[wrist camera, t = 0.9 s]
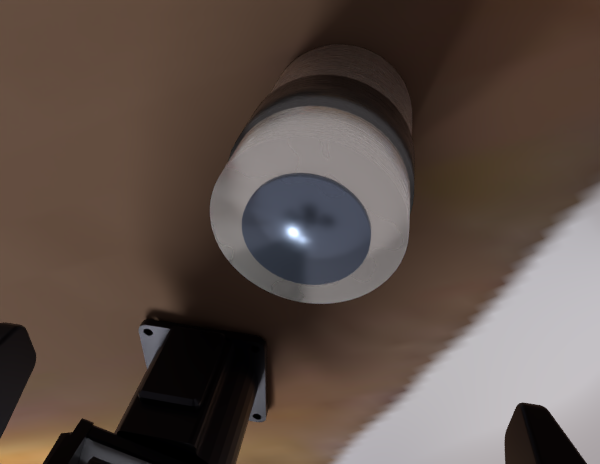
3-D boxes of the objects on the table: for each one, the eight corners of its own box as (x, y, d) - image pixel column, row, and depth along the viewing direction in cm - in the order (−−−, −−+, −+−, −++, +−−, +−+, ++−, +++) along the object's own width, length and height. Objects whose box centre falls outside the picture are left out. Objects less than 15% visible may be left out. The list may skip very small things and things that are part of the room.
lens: (403, 187, 20) (397, 325, 14) (268, 171, 21) (210, 298, 15) (426, 48, 17) (431, 151, 11) (267, 34, 18) (193, 126, 12)
